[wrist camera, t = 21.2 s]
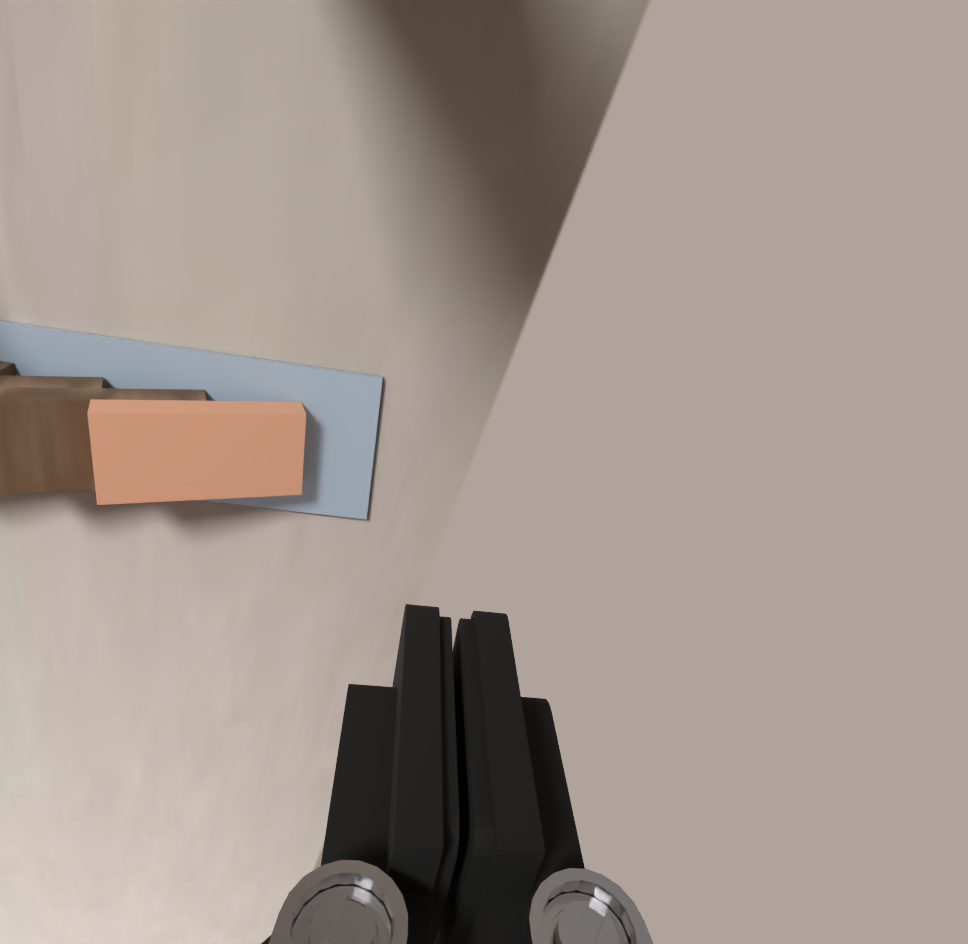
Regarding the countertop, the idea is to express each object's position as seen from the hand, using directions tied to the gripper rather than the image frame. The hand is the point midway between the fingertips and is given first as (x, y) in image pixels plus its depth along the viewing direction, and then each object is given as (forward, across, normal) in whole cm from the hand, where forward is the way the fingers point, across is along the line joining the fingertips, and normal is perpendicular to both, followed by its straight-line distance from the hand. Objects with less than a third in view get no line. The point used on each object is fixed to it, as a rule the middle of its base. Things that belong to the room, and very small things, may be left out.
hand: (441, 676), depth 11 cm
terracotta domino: (+32, +7, +12) cm, 35 cm away
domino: (+32, +13, +12) cm, 37 cm away
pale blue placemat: (+33, +15, +12) cm, 38 cm away
